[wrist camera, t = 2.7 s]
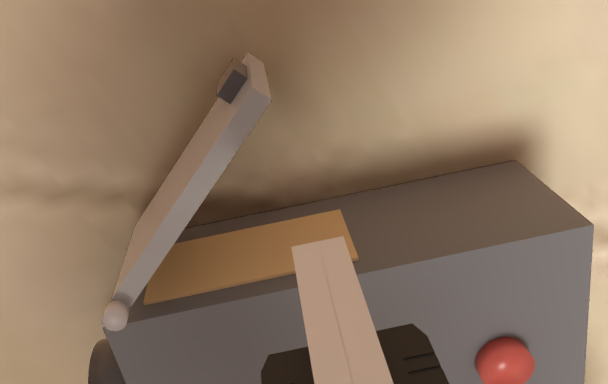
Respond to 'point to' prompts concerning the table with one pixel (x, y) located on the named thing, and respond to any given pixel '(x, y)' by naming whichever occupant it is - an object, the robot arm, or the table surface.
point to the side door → (195, 172)
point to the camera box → (373, 284)
